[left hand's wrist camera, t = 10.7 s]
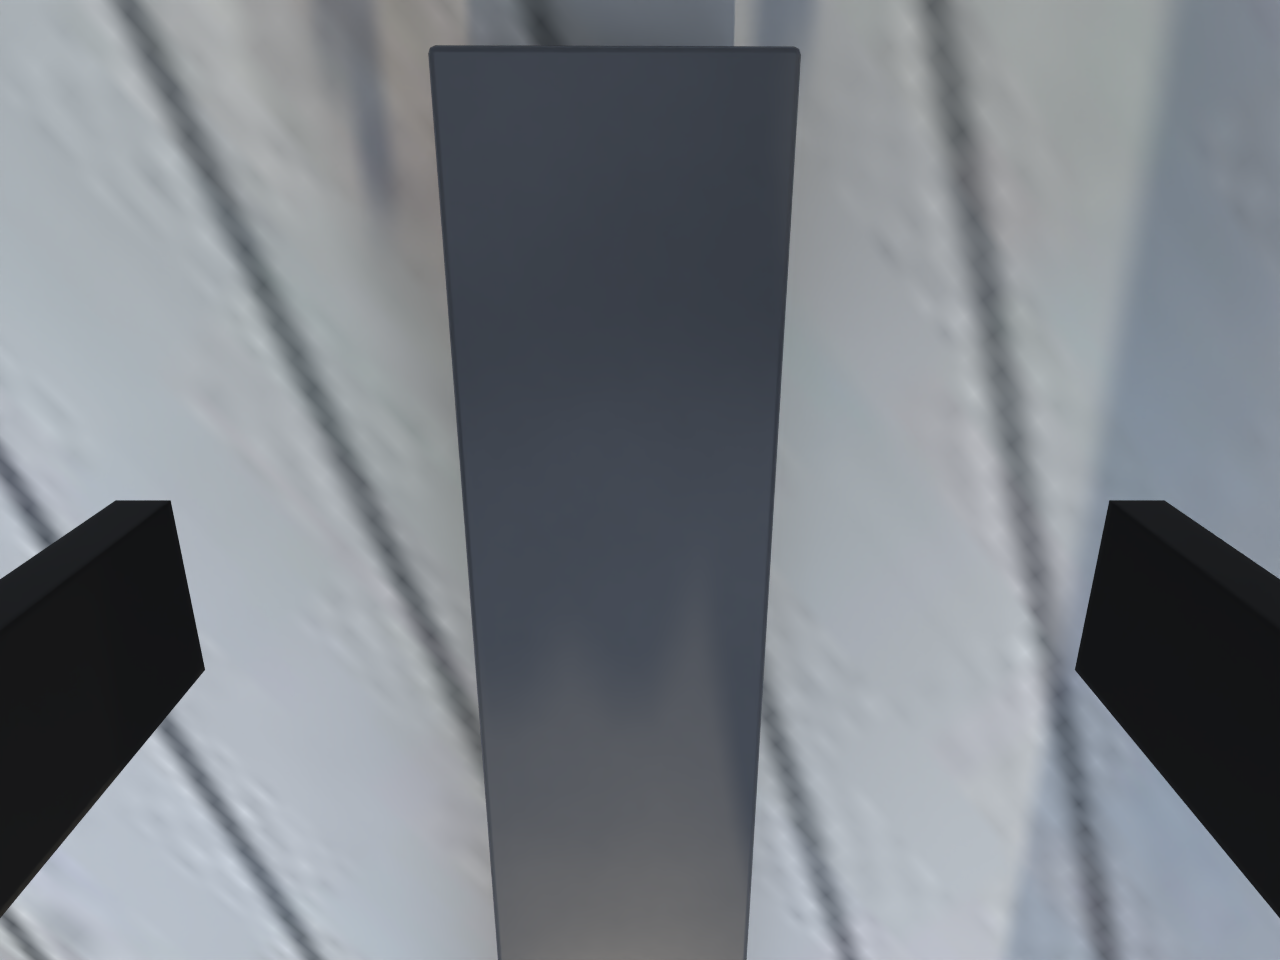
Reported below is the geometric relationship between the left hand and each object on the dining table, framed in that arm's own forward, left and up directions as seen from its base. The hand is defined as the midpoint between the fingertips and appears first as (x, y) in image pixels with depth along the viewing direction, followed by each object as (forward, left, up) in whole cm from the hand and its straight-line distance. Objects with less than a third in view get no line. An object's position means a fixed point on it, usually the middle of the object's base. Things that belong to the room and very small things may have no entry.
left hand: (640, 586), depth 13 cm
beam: (+3, +24, -9) cm, 26 cm away
